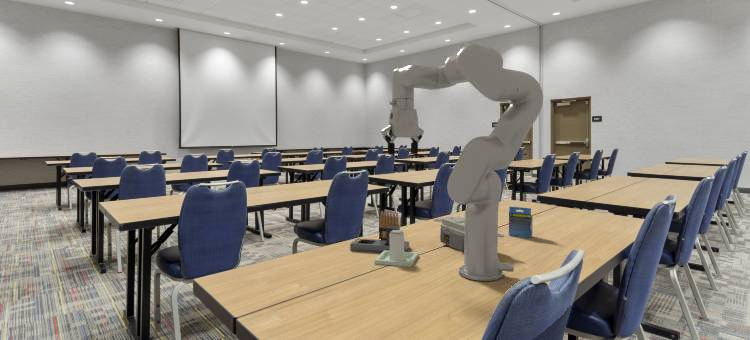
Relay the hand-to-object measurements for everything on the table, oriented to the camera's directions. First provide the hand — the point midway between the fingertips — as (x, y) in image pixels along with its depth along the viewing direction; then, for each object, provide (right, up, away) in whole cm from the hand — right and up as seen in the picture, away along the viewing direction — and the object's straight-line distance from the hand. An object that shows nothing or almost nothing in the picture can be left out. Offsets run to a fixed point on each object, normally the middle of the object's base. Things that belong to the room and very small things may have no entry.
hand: (403, 154), depth 143 cm
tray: (-3, -36, -8) cm, 37 cm away
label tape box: (+50, -33, +25) cm, 65 cm away
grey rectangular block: (-3, -35, -8) cm, 36 cm away
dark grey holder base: (-7, -35, +8) cm, 36 cm away
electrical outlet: (+24, -35, +7) cm, 43 cm away
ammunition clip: (-4, -34, +19) cm, 39 cm away
